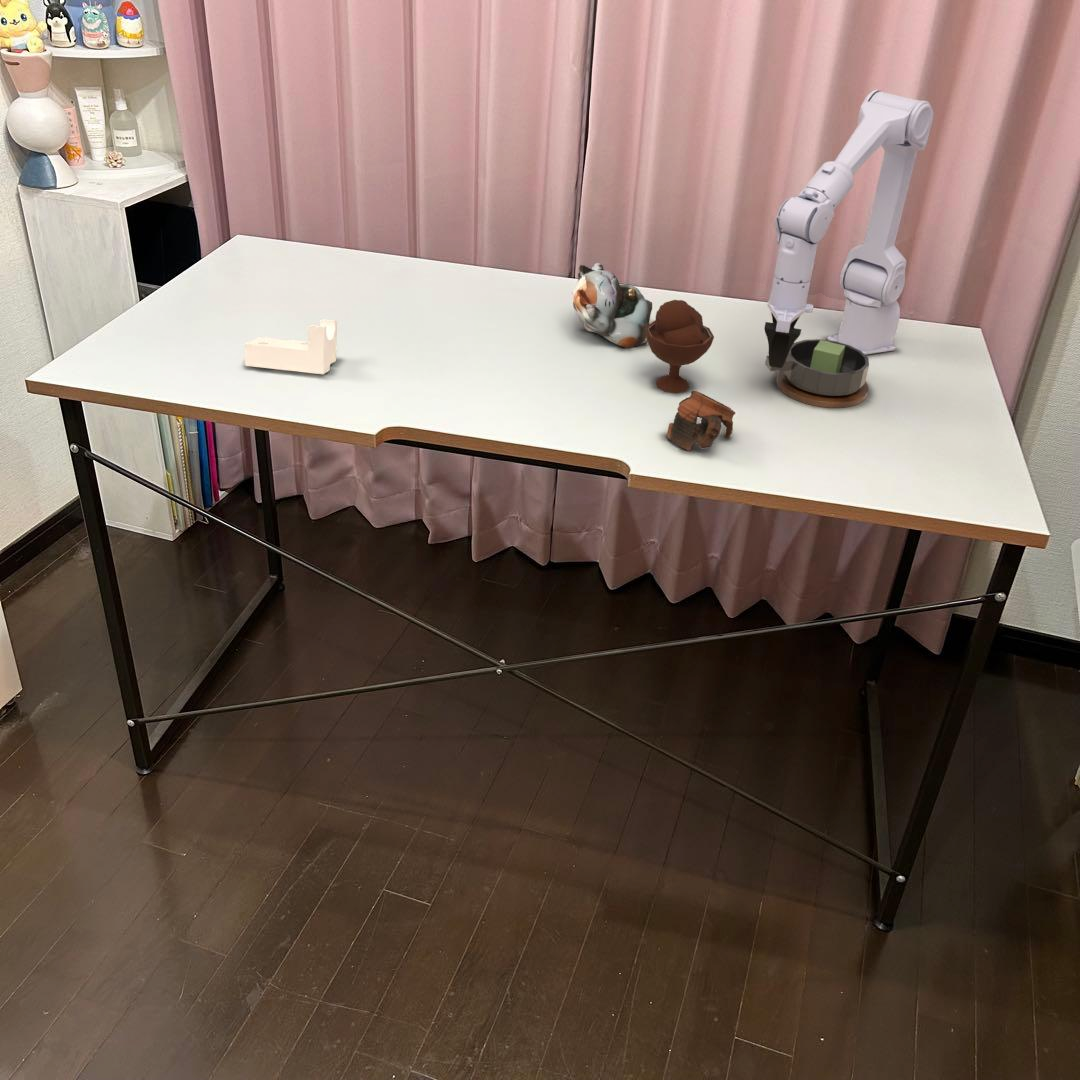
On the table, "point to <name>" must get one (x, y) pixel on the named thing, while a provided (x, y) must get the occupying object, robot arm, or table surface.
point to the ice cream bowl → (677, 341)
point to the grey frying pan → (821, 381)
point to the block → (827, 357)
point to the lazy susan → (820, 399)
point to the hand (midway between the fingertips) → (777, 356)
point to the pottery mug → (710, 426)
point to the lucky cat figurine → (611, 307)
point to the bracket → (296, 350)
